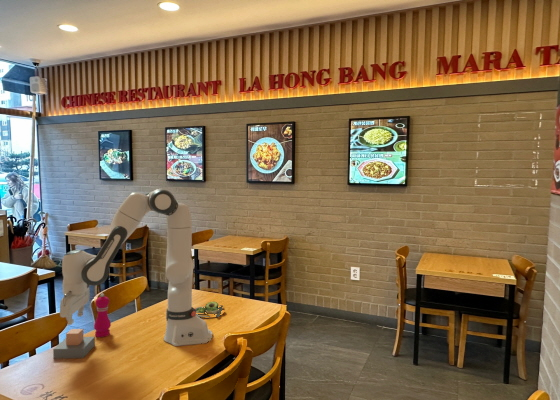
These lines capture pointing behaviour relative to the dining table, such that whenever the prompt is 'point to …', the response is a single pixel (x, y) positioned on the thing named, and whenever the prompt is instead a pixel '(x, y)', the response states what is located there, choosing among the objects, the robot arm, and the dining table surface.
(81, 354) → the grey square slab
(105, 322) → the pepper mill
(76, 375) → the dining table surface
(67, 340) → the terracotta block
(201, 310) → the salad plate
